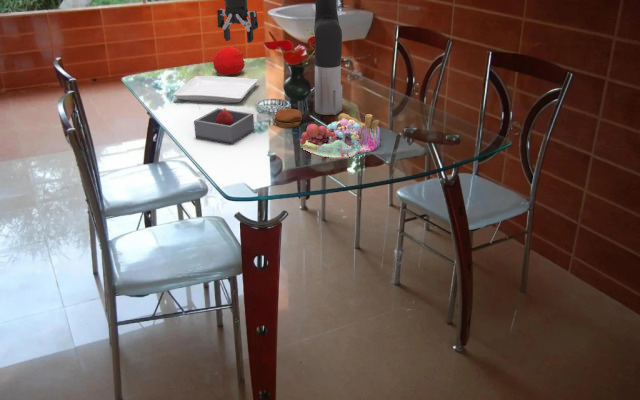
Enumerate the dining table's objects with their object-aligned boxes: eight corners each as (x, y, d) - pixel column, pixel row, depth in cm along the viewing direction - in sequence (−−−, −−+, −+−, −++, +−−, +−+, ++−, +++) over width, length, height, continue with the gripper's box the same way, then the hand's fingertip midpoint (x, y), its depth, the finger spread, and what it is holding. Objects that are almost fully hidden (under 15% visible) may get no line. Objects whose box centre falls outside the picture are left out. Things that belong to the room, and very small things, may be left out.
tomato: (219, 84, 275) (245, 79, 283) (226, 63, 266) (253, 59, 273) (206, 63, 280) (232, 59, 287) (212, 41, 270) (239, 38, 278)
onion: (230, 135, 210) (229, 111, 206) (214, 134, 211) (212, 110, 207) (236, 129, 215) (235, 106, 211) (220, 128, 216) (218, 105, 212)
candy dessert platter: (321, 127, 220) (321, 101, 216) (388, 136, 212) (389, 110, 208) (292, 153, 199) (292, 125, 195) (364, 164, 191) (365, 135, 187)
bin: (254, 130, 216) (253, 113, 213) (232, 144, 205) (230, 127, 202) (219, 124, 221) (217, 108, 219) (195, 138, 210) (193, 120, 207)
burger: (287, 130, 217) (287, 117, 215) (268, 124, 223) (268, 110, 221) (308, 123, 223) (308, 110, 221) (289, 117, 229) (289, 104, 227)
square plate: (242, 107, 239) (241, 97, 238) (172, 103, 243) (171, 93, 242) (259, 86, 263) (259, 77, 262) (195, 83, 267) (195, 74, 265)
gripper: (259, -9, 211) (262, 40, 219) (222, -11, 216) (226, 37, 224) (248, -6, 205) (252, 45, 212) (210, -8, 210) (215, 42, 218)
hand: (238, 41), depth 218 cm, fingers open, 8 cm apart
